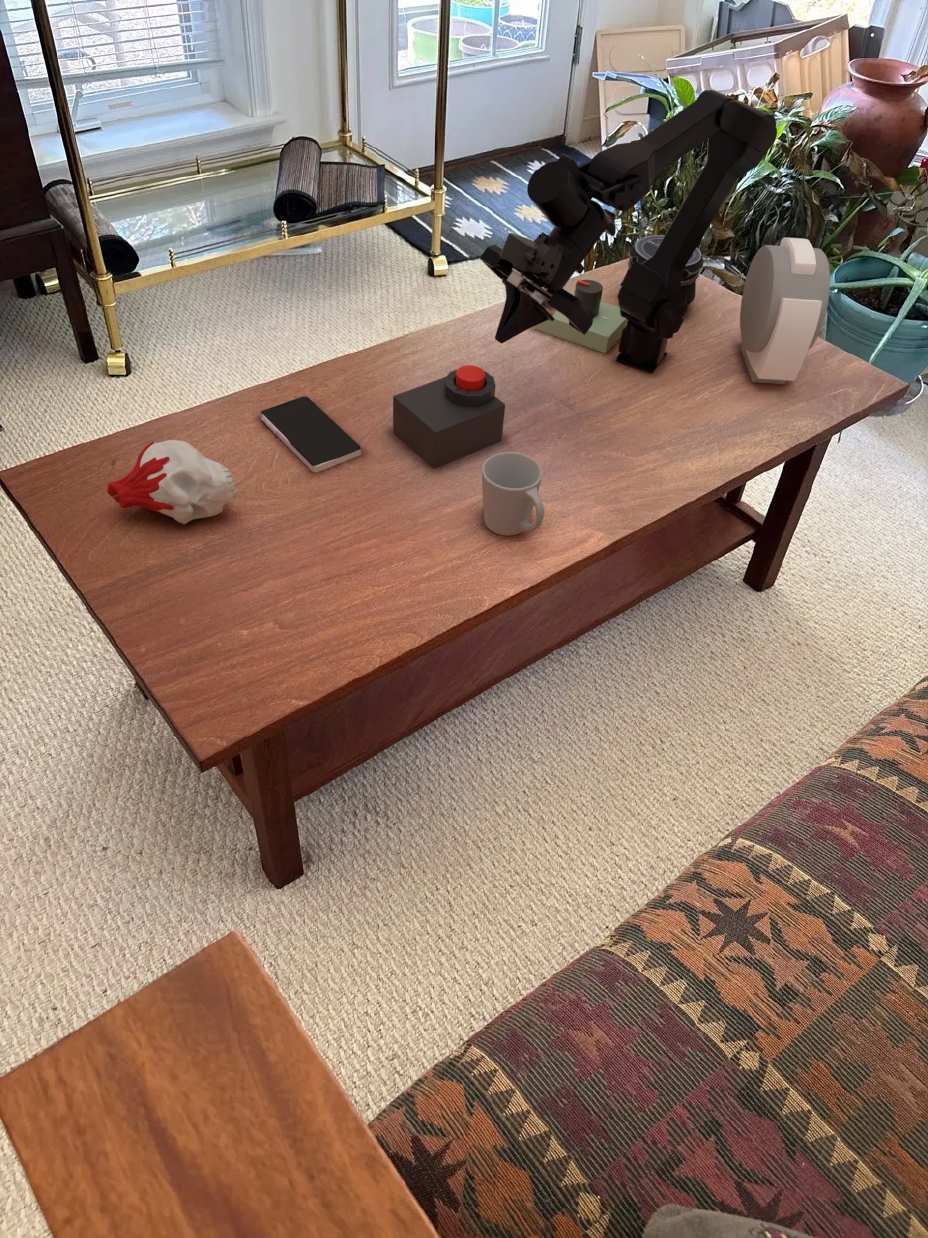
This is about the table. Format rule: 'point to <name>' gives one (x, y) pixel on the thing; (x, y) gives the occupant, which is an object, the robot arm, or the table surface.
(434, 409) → the button housing
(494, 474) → the cup
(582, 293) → the timer knob
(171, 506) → the candle
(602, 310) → the timer panel
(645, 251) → the container
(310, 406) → the smartphone
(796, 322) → the alarm clock
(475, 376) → the power button
